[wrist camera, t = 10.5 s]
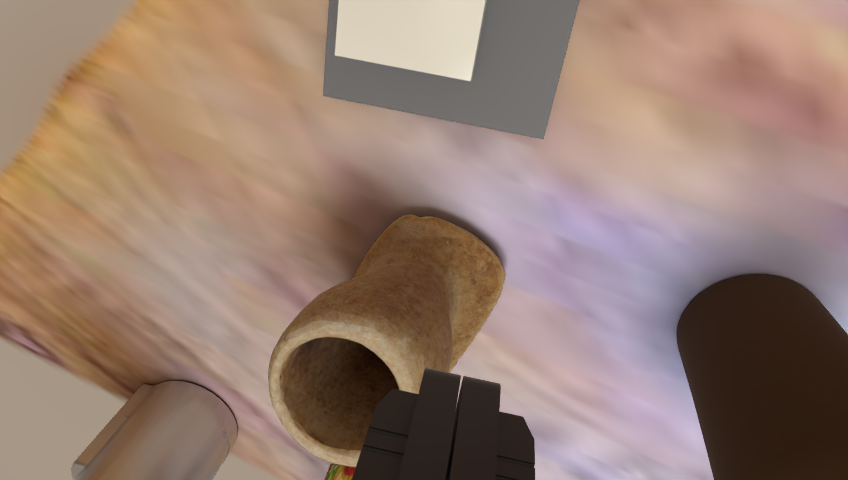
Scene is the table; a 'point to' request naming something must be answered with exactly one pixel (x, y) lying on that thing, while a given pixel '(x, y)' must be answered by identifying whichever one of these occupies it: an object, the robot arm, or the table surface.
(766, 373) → the olive oil
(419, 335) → the tan hollow piece
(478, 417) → the robot arm
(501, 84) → the mat
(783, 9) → the table surface
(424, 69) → the tile
